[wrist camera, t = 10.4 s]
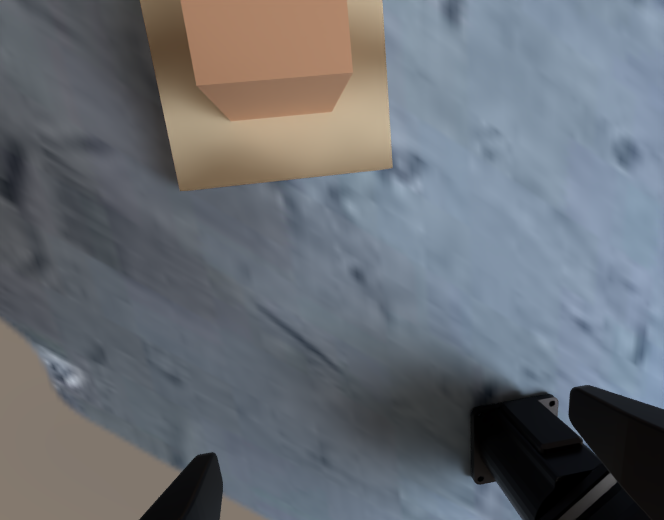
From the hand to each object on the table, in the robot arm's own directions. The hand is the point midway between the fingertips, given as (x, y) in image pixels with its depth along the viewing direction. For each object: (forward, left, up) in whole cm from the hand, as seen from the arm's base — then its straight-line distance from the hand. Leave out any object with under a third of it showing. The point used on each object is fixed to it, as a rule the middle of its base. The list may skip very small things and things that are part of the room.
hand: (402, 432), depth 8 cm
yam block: (+12, +2, -11) cm, 16 cm away
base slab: (+12, +2, -13) cm, 18 cm away
